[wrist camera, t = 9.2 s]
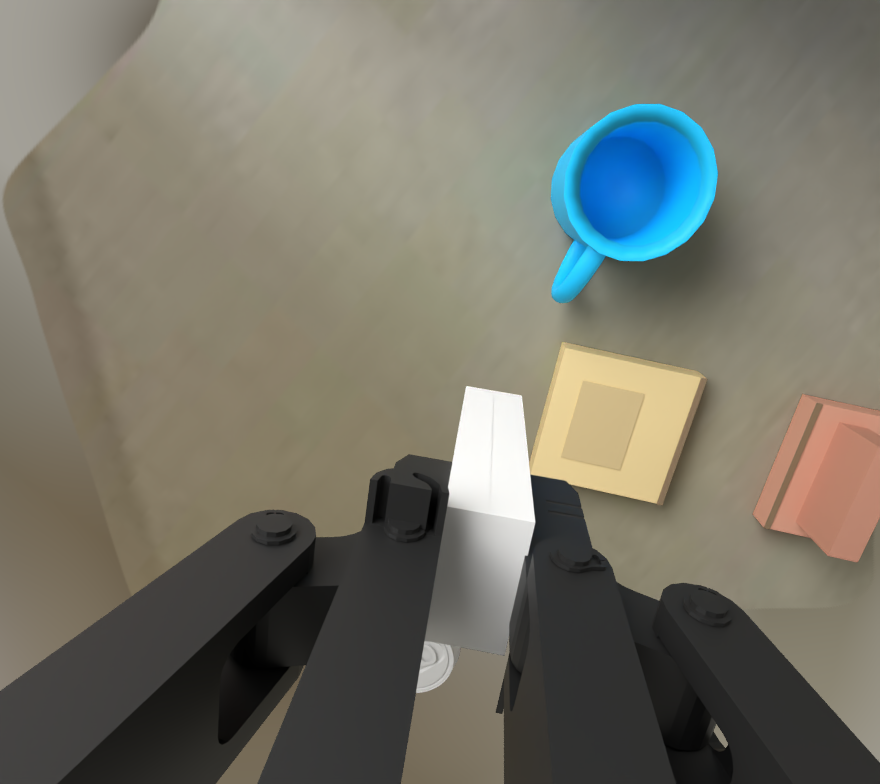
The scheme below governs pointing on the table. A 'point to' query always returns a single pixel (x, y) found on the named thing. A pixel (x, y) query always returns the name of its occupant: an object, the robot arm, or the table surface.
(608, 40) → the table surface
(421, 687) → the beverage can
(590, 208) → the mug
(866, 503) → the pink stepped block
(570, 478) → the tan flat square block
